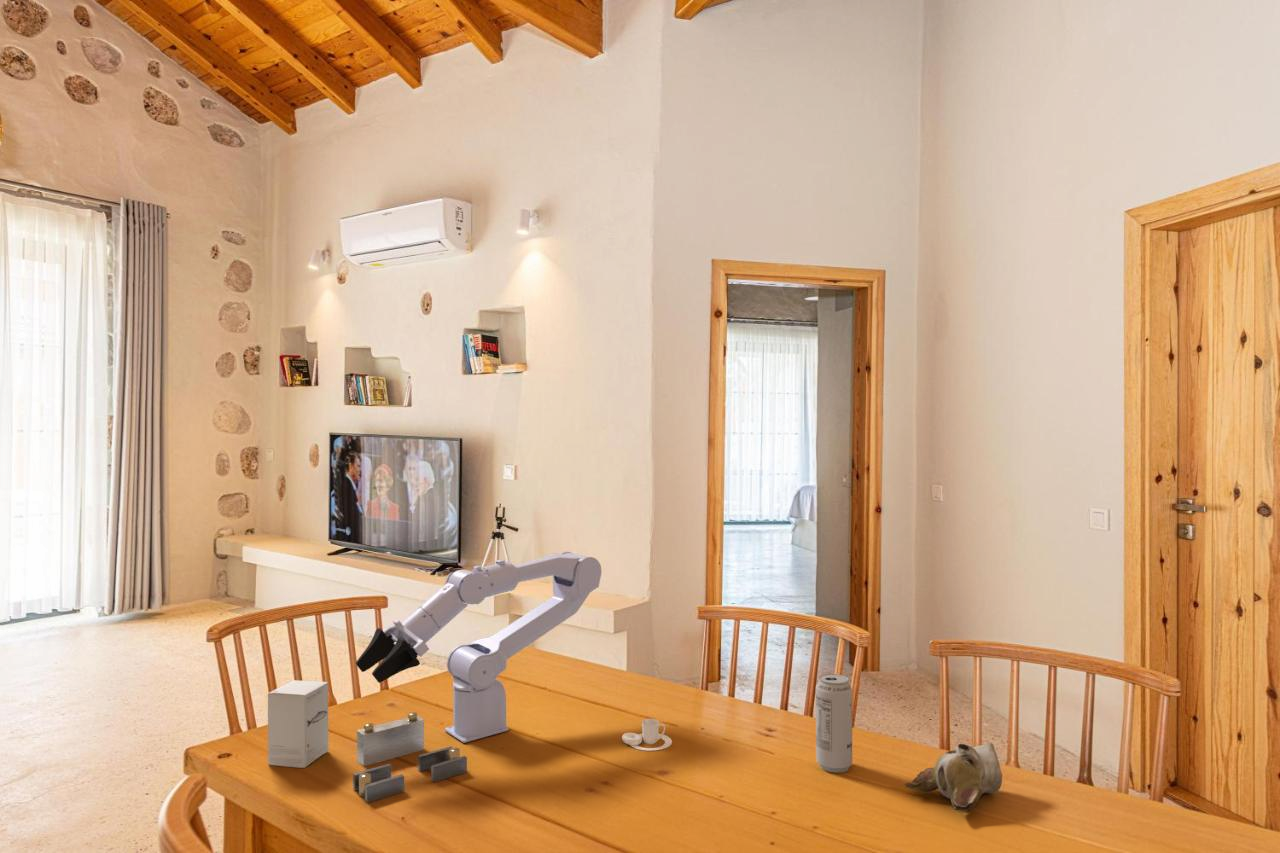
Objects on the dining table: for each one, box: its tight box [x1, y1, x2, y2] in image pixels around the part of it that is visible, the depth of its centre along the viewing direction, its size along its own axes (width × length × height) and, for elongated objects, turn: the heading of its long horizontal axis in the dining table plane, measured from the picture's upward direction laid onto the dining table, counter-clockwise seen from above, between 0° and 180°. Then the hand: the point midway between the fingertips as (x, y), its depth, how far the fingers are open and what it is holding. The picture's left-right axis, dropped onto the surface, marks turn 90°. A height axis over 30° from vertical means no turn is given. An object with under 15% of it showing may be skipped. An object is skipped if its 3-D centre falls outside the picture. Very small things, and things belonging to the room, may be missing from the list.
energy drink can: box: [815, 673, 853, 774], centre depth 139 cm, size 6×6×15 cm
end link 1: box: [352, 763, 405, 804], centre depth 131 cm, size 6×6×3 cm
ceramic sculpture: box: [904, 741, 1003, 812], centre depth 128 cm, size 11×9×15 cm
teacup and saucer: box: [621, 718, 673, 752], centre depth 150 cm, size 9×8×4 cm
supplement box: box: [267, 679, 329, 769], centre depth 144 cm, size 7×7×13 cm
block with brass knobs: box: [356, 711, 425, 767], centre depth 145 cm, size 11×3×6 cm, turn 129°
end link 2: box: [417, 745, 468, 783], centre depth 138 cm, size 6×6×3 cm
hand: (367, 673), depth 142 cm, fingers open, 7 cm apart
